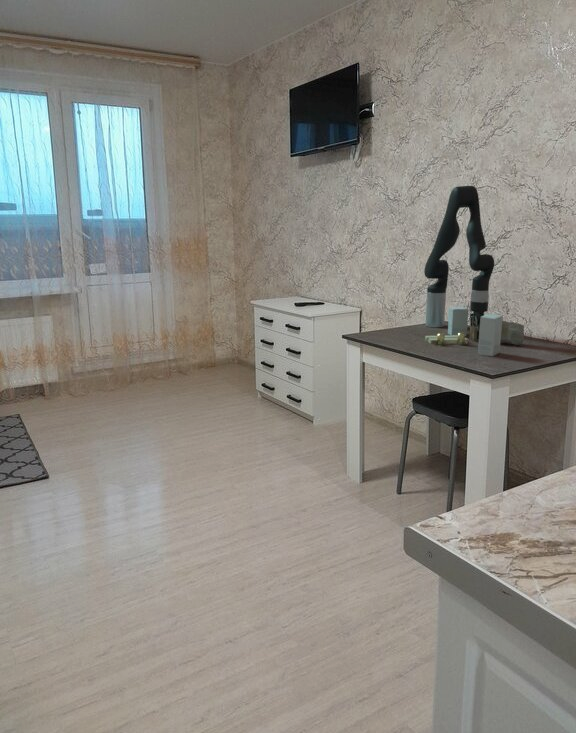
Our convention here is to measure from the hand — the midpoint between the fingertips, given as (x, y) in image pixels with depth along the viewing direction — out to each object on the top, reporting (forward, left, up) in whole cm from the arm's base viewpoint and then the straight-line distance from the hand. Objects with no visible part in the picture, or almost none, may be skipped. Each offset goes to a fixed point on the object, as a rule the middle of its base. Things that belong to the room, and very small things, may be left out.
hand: (477, 338), depth 268 cm
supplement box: (-14, -4, -1) cm, 15 cm away
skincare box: (+28, -6, -1) cm, 29 cm away
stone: (+11, +10, -1) cm, 15 cm away
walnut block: (0, 0, -1) cm, 1 cm away
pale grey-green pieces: (+2, -15, -1) cm, 15 cm away
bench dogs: (+8, -15, -1) cm, 17 cm away
